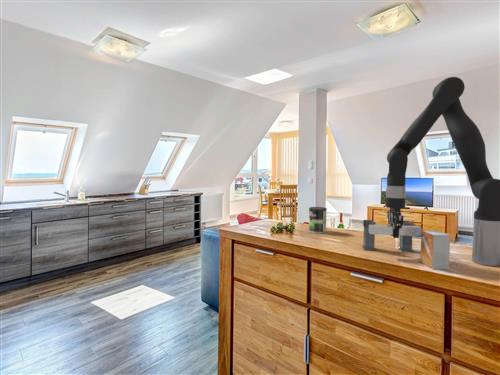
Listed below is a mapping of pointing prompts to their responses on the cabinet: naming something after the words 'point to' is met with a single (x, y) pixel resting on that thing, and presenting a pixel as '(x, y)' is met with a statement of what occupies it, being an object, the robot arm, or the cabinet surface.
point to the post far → (368, 236)
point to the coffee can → (317, 219)
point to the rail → (389, 230)
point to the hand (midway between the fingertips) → (394, 236)
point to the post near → (406, 239)
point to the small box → (435, 249)
